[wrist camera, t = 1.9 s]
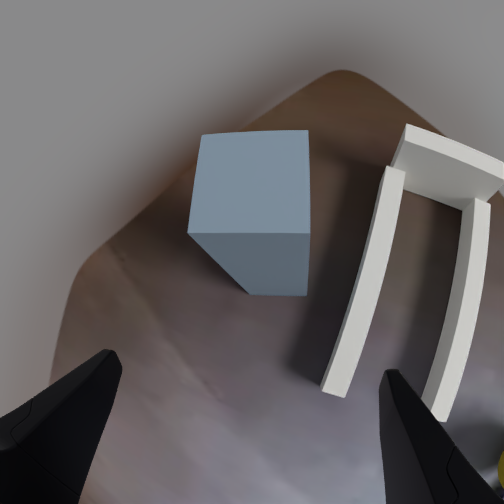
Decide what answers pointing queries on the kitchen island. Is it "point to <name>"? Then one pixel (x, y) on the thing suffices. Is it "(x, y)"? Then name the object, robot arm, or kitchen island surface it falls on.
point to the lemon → (501, 470)
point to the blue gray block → (255, 208)
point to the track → (467, 263)
